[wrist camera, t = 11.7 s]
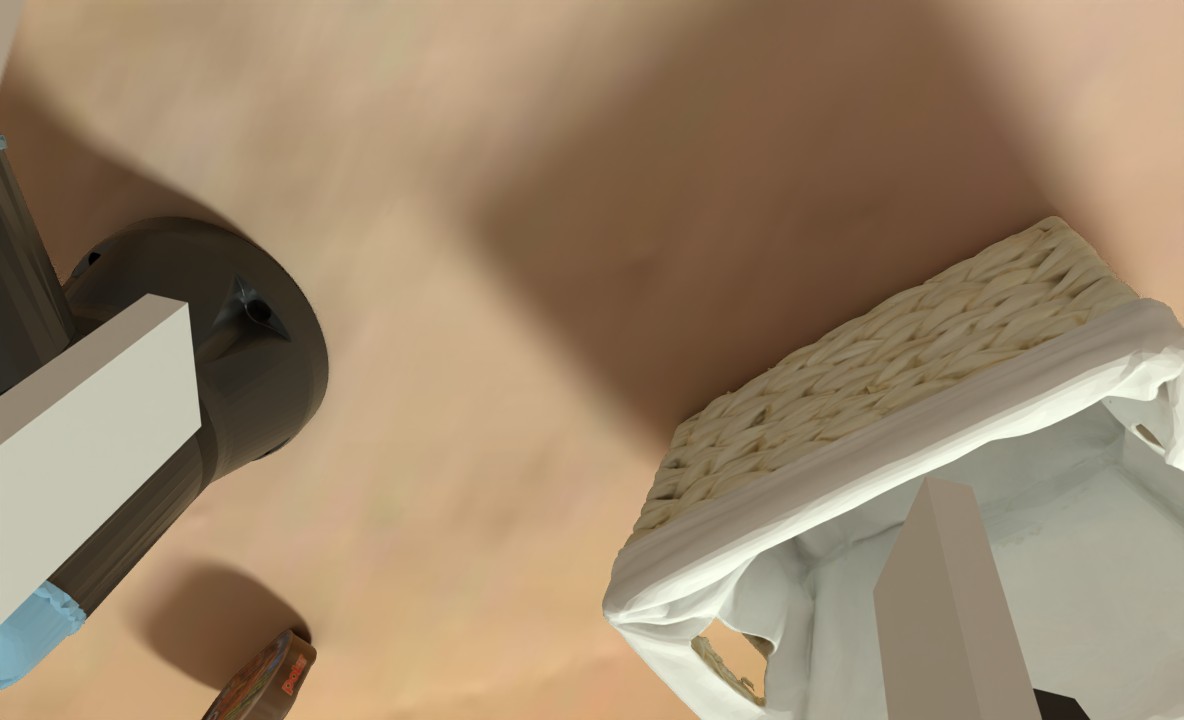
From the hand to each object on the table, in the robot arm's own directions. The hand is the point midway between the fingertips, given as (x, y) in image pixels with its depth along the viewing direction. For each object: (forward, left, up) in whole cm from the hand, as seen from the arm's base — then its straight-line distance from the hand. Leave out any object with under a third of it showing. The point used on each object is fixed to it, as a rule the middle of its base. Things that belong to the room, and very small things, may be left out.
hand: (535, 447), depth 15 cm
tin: (-20, -50, -28) cm, 61 cm away
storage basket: (+15, -14, -28) cm, 35 cm away
